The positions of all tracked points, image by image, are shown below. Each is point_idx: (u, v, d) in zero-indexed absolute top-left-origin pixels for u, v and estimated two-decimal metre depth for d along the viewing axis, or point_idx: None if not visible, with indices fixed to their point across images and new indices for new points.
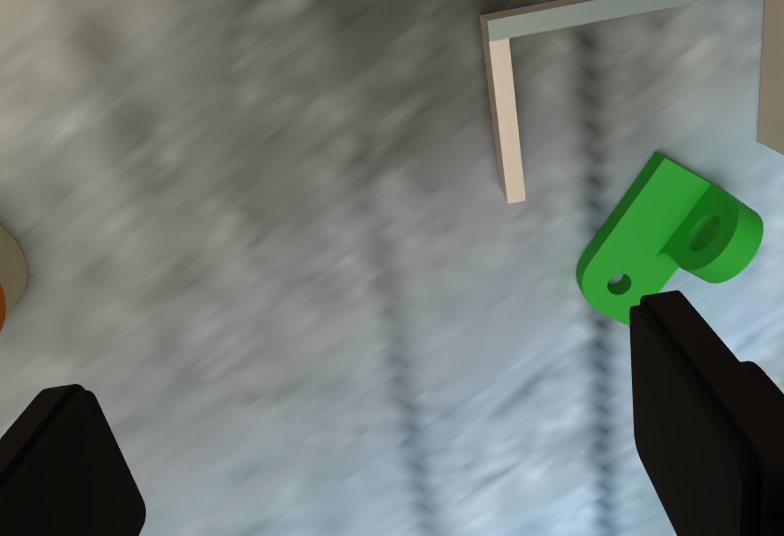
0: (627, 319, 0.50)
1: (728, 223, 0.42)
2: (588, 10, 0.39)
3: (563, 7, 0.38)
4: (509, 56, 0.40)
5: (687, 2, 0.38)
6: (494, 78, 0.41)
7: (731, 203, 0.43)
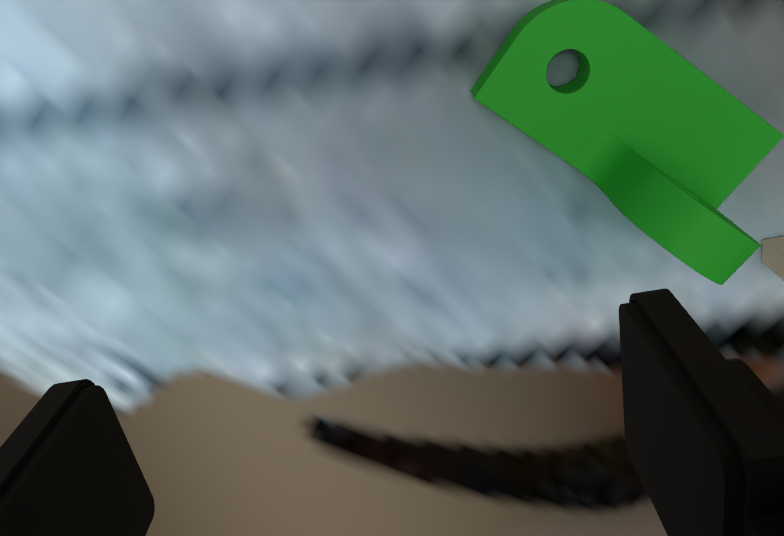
0: (491, 90, 0.27)
1: (742, 232, 0.25)
2: None
3: None
4: None
5: None
6: None
7: None
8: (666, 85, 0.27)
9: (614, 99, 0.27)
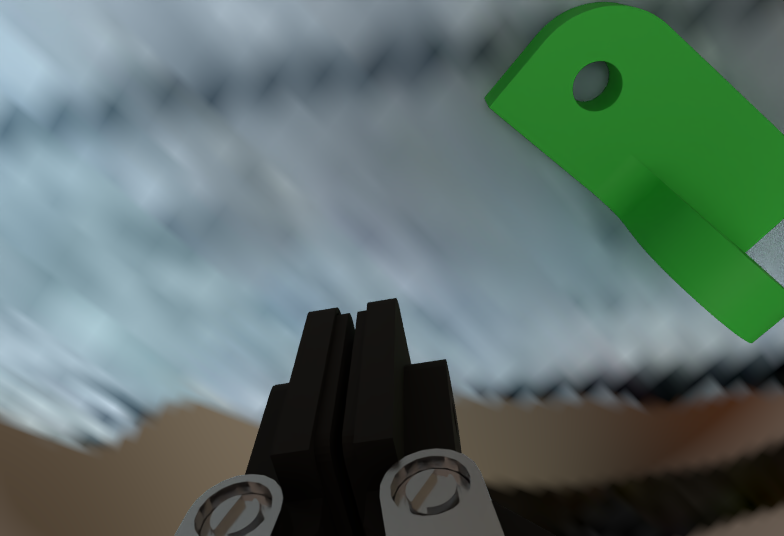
0: (509, 100, 0.24)
1: (781, 286, 0.22)
2: None
3: None
4: None
5: None
6: None
7: None
8: (705, 111, 0.24)
9: (646, 122, 0.24)
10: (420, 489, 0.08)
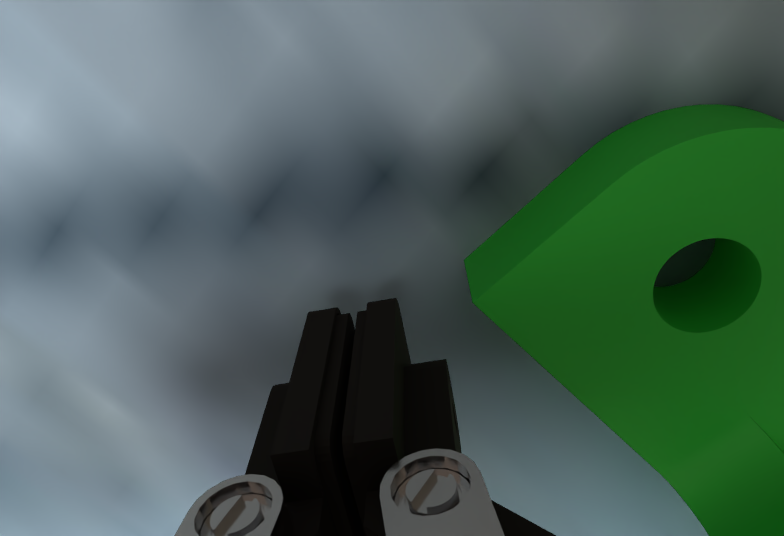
0: (518, 293, 0.11)
1: None
2: None
3: None
4: None
5: None
6: None
7: None
8: None
9: None
10: (420, 489, 0.08)
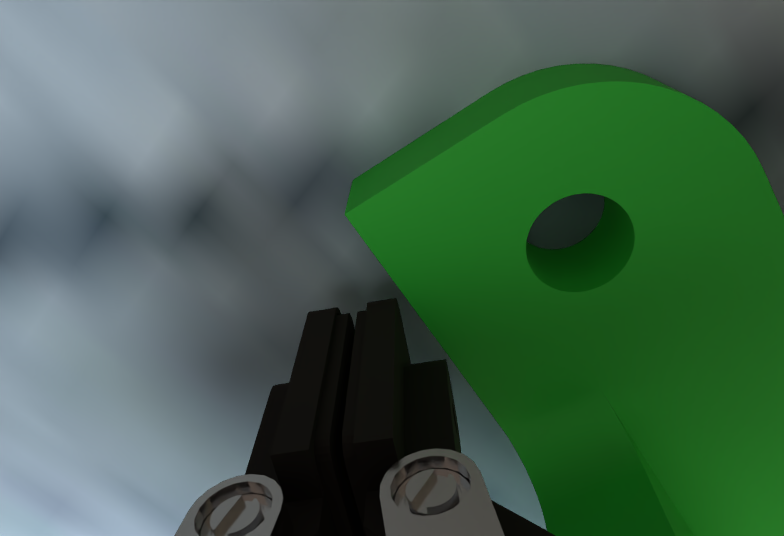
0: (392, 213, 0.11)
1: None
2: None
3: None
4: None
5: None
6: None
7: None
8: (765, 355, 0.12)
9: (649, 340, 0.12)
10: (420, 489, 0.08)
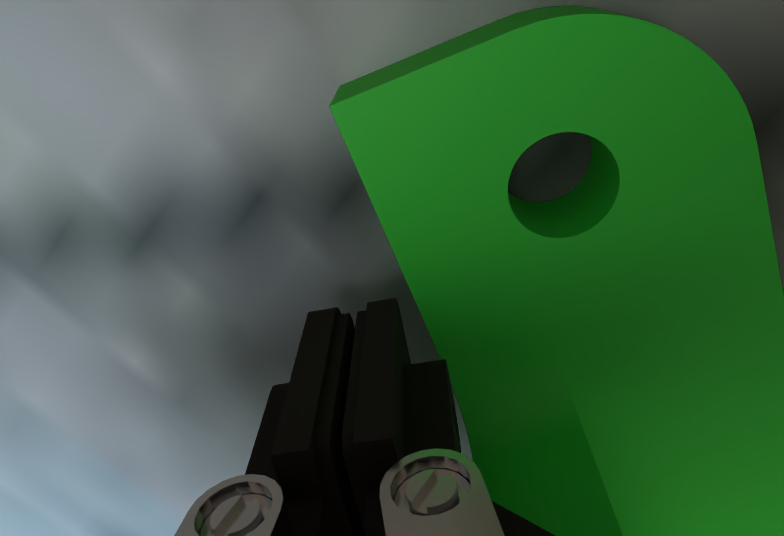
0: (379, 115, 0.10)
1: None
2: None
3: None
4: None
5: None
6: None
7: None
8: (718, 337, 0.12)
9: (610, 302, 0.11)
10: (420, 489, 0.08)
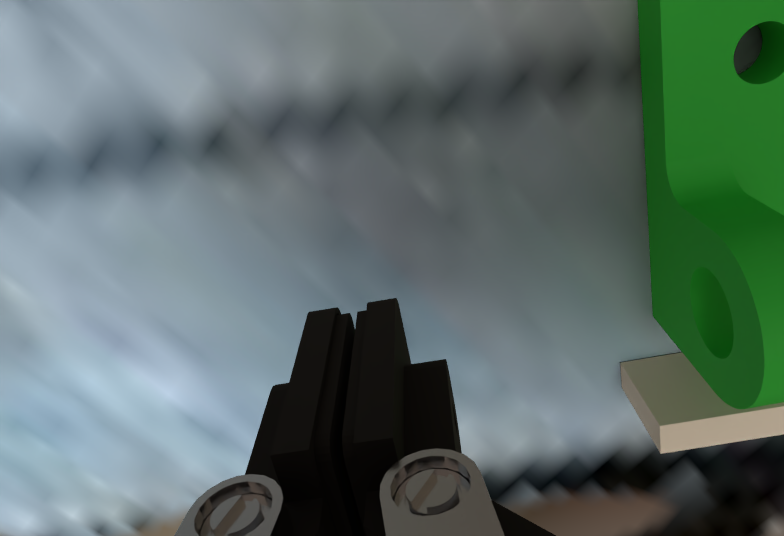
0: None
1: None
2: None
3: None
4: None
5: None
6: None
7: None
8: None
9: (768, 129, 0.20)
10: (420, 489, 0.08)
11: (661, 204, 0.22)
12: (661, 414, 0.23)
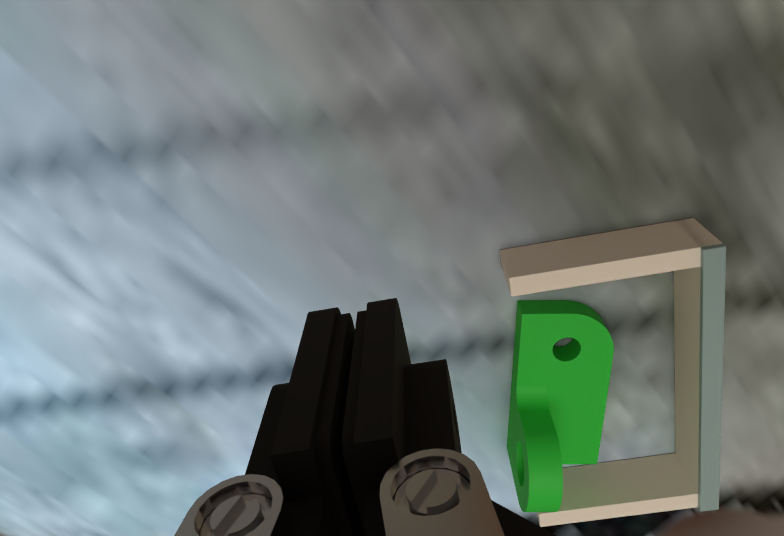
0: (532, 320, 0.41)
1: None
2: (714, 339, 0.38)
3: (722, 317, 0.38)
4: (679, 268, 0.37)
5: (702, 418, 0.41)
6: (659, 255, 0.36)
7: None
8: (588, 397, 0.43)
9: (566, 380, 0.43)
10: (420, 489, 0.08)
11: (513, 401, 0.44)
12: None
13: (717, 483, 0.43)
